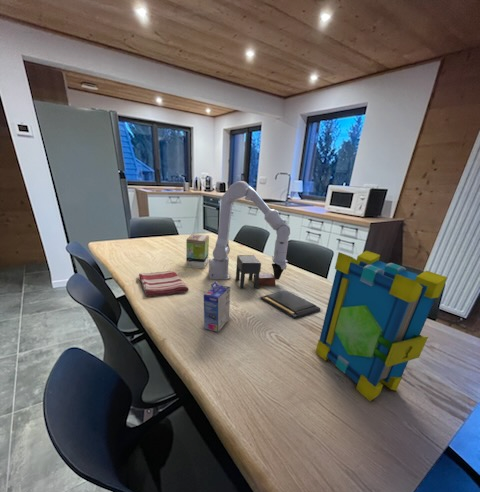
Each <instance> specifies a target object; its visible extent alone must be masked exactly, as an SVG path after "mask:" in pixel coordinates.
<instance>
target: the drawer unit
mask: <svg viewBox="0 0 480 492" xmlns="http://www.w3.org/2000/svg"><path fill="white" fill-rule="evenodd" d="M261 268H262V263H261V262H260V260H259V259H258V258H257V257H256V256H255V255H254V254H237V256H236V270H235V280H236V281H240V282H239V289H240V290H243V289H245V277H246V275H248V280H249V281H253V278H254V274H255V281H254V282H253V288H254V289H255V290H256V289H259V286H258V282H259V273H261V271H262V270H261Z"/></svg>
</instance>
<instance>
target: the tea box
mask: <svg viewBox="0 0 480 492" xmlns="http://www.w3.org/2000/svg"><path fill="white" fill-rule="evenodd" d="M185 241H186V246H185V247H186V249H185V251H186V252H185V253H186V257H185V259H186V262H185V263H186V266H185V267H186V268H193V269H194V268H195V269H205V268H206V266H207V264H208V263H209V251H210V250H209V247H210V244H209V243H210V235H205V234H195V233H192V234H190V235H189V236H188V238H186V239H185Z"/></svg>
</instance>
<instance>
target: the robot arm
mask: <svg viewBox="0 0 480 492" xmlns="http://www.w3.org/2000/svg"><path fill="white" fill-rule="evenodd" d="M241 198H244V200H248V201H250V202H252V203H253V204H254V205H255V206H256V207H257V208H258V209H259V211H261V212H262V214H263V215H264V216H263V217H264V218H263V219H264V220H265V221H266V223H267V225H269V226H270V227H271V228H272V230H274V231H275V232H276V239H275V241H274V250H273V255H272V258H271V261H272V263H271V267H272V271H273V275H274V276H275V278H276V280H275V281H277V280H278V281H280V278H281V276H282V274H283V272H284V271H285V270H287V263H288V262H289V260H287V252H288V249H289V248H288V246H289V240H290V235H291V228H290V225H289V223H288V222H287V221H286V219H283V217H282V216H280V213H279V210H276V209H274V208H272V209H271V208H270V207H269V206H268V204H267V203H265V201H264V200H263V199H262V197H261V196H260V195H259V193H258V192H257V191H256V190H255V189H254V188H253V187H252V186H251V185H249V183H247V182H246V181H244V180H238V181H235V182H233V183H232V184H230V185H229V187H228V188H227V189H226V191H225V192H224V193H223V195H222V196H221V201H220V208H219V221H218V231H217V239H216V242H215V247H214V249H213V250H212V257H213V258H208V277H209V280H230V279H231V278H230V276H229V265H230V264H229V262H230V260H229V259H230V257H229V256H228V255H229V254H230V253H231V252H230V251H231V248H230V245H229V244H230V241H229V236H230V228H231V219H232V212H233V211H232V210H233V204H234V203H235V202H237V201H238V200H239V199H241Z"/></svg>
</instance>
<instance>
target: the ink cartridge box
mask: <svg viewBox="0 0 480 492" xmlns="http://www.w3.org/2000/svg"><path fill="white" fill-rule="evenodd" d="M210 286H211V288H210V289H209V290H208V291H206V292H205V293H204V294H203V322H204V323H203V324H204V329H205V330H209V331H212V332H213V331H214V332H217V333H218V332H220V331H221V329H222V328H223V327H224V326H225V325H226V323H227V322H228V321H229V319H230V300H231V287H230V286H227V285H223V284H218V282H217V280H214V281H213V282H212V283H211V284H210Z"/></svg>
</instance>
